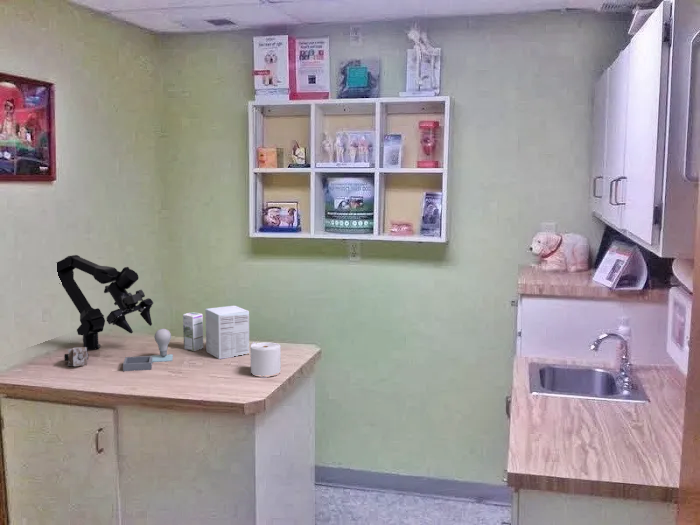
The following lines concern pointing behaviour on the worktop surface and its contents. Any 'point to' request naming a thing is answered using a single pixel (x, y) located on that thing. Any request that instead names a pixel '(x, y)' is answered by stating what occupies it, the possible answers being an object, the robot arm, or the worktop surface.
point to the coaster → (162, 358)
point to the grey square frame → (137, 363)
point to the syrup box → (193, 331)
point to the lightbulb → (162, 340)
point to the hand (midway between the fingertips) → (141, 329)
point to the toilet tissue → (265, 358)
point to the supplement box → (227, 331)
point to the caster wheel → (76, 356)
